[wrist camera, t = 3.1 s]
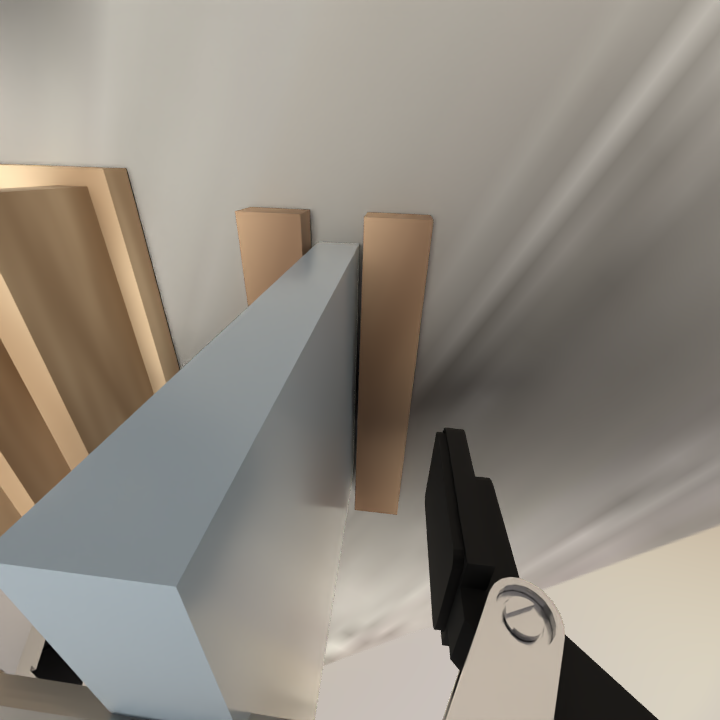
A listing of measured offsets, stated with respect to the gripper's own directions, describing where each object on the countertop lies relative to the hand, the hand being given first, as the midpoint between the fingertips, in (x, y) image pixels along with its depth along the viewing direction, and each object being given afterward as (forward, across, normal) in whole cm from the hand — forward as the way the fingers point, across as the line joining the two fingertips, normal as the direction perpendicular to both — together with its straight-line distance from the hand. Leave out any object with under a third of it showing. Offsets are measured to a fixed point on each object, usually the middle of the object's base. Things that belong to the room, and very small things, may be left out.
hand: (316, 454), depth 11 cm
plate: (+4, 0, 0) cm, 4 cm away
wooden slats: (+4, 0, 0) cm, 4 cm away
